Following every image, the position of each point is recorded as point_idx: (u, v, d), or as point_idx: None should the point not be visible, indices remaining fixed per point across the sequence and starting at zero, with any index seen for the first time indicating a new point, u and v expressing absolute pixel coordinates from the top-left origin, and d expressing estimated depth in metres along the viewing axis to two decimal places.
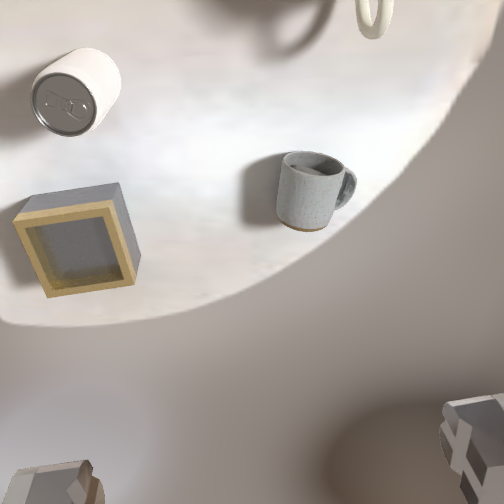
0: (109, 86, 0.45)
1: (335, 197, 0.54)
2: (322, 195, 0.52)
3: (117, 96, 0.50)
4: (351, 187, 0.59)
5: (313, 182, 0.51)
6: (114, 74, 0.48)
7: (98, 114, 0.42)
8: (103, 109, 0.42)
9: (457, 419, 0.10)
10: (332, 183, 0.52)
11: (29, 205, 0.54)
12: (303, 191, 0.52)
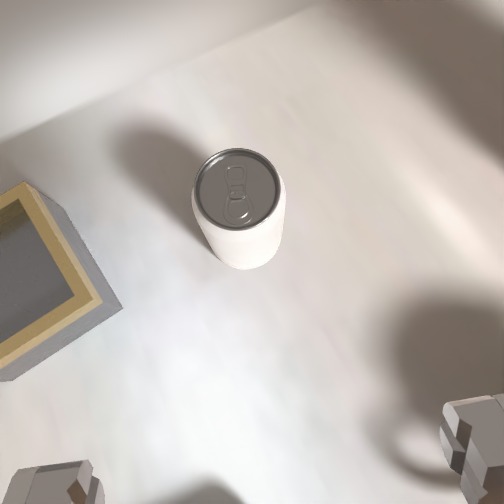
0: (267, 245, 0.33)
1: None
2: None
3: (243, 266, 0.38)
4: None
5: None
6: (270, 253, 0.37)
7: (241, 234, 0.29)
8: (248, 240, 0.30)
9: (457, 419, 0.10)
10: None
11: (51, 204, 0.39)
12: None
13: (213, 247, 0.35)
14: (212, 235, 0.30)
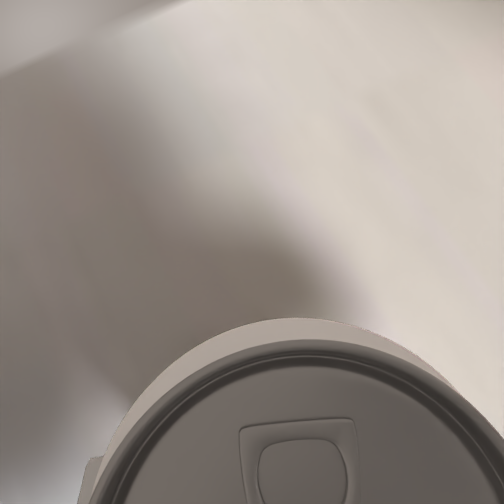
0: None
1: None
2: None
3: None
4: None
5: None
6: None
7: None
8: None
9: None
10: None
11: None
12: None
13: None
14: None
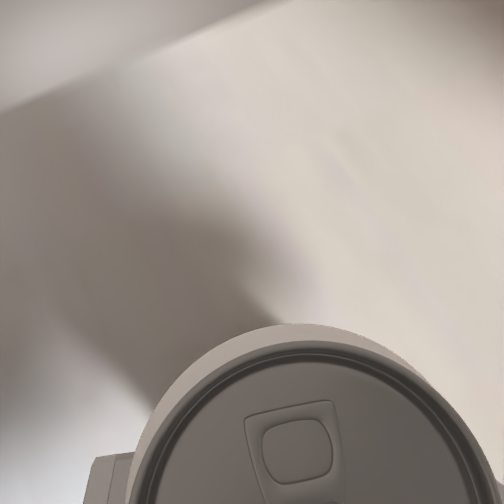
0: None
1: None
2: None
3: None
4: None
5: None
6: None
7: None
8: None
9: None
10: None
11: None
12: None
13: None
14: None
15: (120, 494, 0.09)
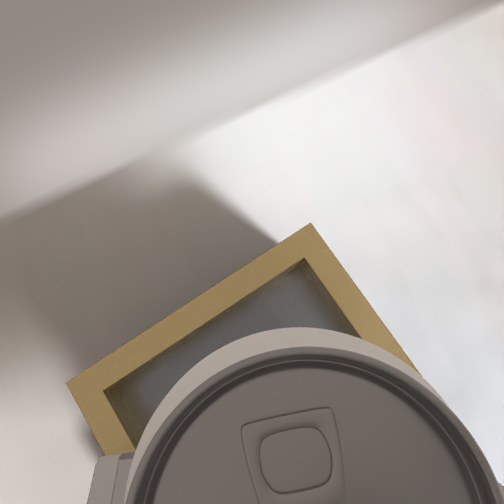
0: None
1: None
2: None
3: None
4: None
5: None
6: None
7: None
8: None
9: None
10: None
11: None
12: None
13: None
14: None
15: (124, 493, 0.09)
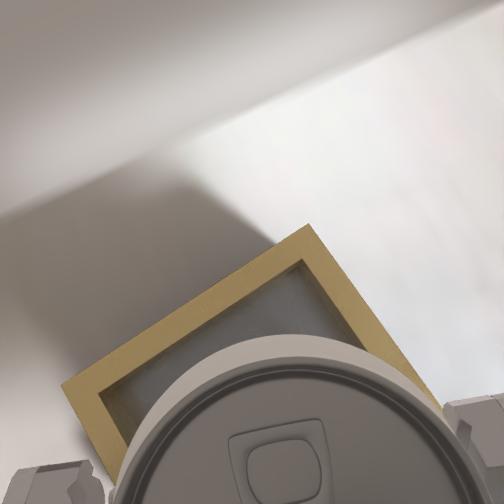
0: None
1: None
2: None
3: None
4: None
5: None
6: None
7: None
8: None
9: (457, 419, 0.10)
10: None
11: None
12: None
13: None
14: None
15: None
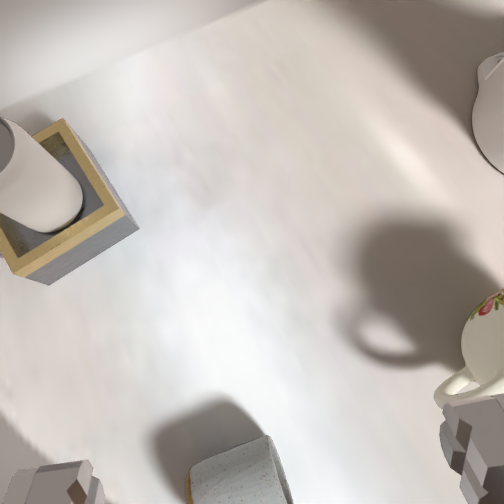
0: (36, 201, 0.37)
1: None
2: None
3: (40, 228, 0.41)
4: None
5: (270, 487, 0.36)
6: (60, 212, 0.41)
7: None
8: None
9: (457, 419, 0.10)
10: None
11: (81, 141, 0.47)
12: (251, 481, 0.36)
13: None
14: None
15: None
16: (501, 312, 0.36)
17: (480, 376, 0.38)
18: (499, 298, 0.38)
